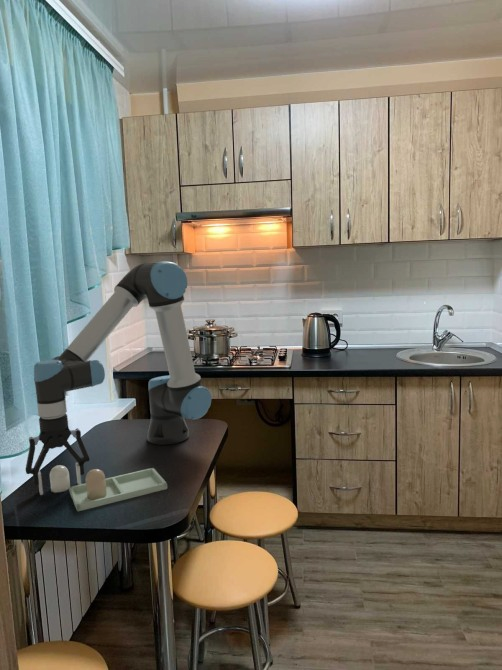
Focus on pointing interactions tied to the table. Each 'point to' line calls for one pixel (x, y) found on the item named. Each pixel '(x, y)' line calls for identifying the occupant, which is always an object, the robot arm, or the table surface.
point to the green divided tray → (120, 488)
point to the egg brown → (95, 484)
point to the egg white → (59, 479)
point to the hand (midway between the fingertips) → (60, 490)
